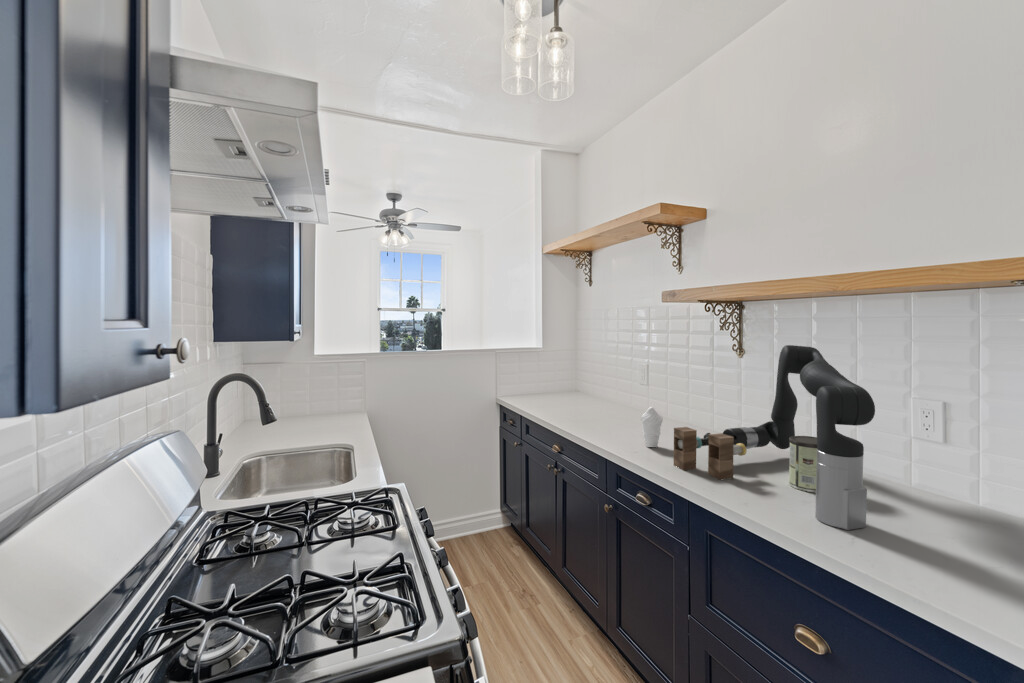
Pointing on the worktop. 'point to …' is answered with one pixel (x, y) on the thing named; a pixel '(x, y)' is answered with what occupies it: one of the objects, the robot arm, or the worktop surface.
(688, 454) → the walnut box
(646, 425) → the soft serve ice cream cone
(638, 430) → the worktop surface
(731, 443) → the walnut box
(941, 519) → the worktop surface
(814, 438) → the coffee can
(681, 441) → the teal button
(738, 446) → the ochre button
